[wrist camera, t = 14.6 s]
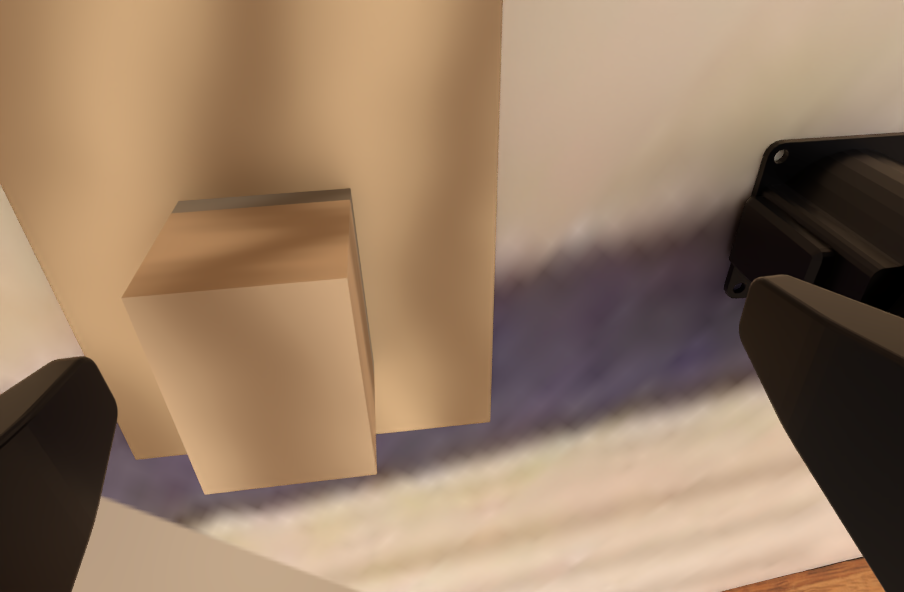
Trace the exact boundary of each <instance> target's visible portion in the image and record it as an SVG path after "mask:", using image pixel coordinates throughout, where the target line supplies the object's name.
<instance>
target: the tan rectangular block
mask: <svg viewBox="0 0 904 592" xmlns="http://www.w3.org/2000/svg"><path fill="white" fill-rule="evenodd" d="M121 299H122V301H123V303H124V306H125V308H126V311H127V313H128V315H129V318H130V320H131V322H132V325H133V327H134V329H135V332H136V334H137V336H138V339H139V341H140V343H141V346H142V348H143V351H144V353H145V355H146V358H147V360H148V362H149V365H150V367H151V369H152V372H153V374H154V376H155V379H156V381H157V383H158V386H159V388H160V391H161V393H162V395H163V398H164V400H165V402H166V405H167V407H168V409H169V412H170V414H171V416H172V419H173V421H174V423H175V426H176V428H177V431H178V433H179V435H180V438H181V440H182V442H183V445H184V447H185V449H186V452H187V454H188V456H189V459H190V461H191V463H192V466H193V468H194V471H195V473H196V475H197V478H198V480H199V482H200V485H201V487H202V489H203V492H204V494H214V493H222V492H230V491H239V490H247V489H256V488H264V487H273V486H281V485H290V484H298V483H306V482H315V481H323V480H332V479H340V478H349V477H357V476H366V475H374V474H377V462H376V422H375V383H374V360H373V352H372V345H371V338H370V330H369V323H368V315H367V308H366V300H365V293H364V285H363V278H362V270H361V263H360V255H359V248H358V240H357V233H356V225H355V218H354V210H353V203H352V195H351V188H347V189H333V190H320V191H307V192H293V193H280V194H266V195H253V196H240V197H226V198H213V199H200V200H186V201H178V203H177V204H176V206H175V208H174V210H173V211H172V213H171V215H170V216H169V218H168V220H167V221H166V223H165V225H164V226H163V228H162V230H161V232H160V233H159V235H158V237H157V238H156V240H155V242H154V243H153V245H152V247H151V248H150V250H149V252H148V254H147V255H146V257H145V259H144V260H143V262H142V264H141V265H140V267H139V269H138V270H137V272H136V274H135V276H134V277H133V279H132V281H131V282H130V284H129V286H128V287H127V289H126V291H125V292H124V294H123V296H122V298H121Z"/></svg>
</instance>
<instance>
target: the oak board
mask: <svg viewBox="0 0 904 592" xmlns="http://www.w3.org/2000/svg"><path fill="white" fill-rule="evenodd" d="M502 5H503V0H0V184H1V186H2V188H3V190H4V192H5V194H6V196H7V198H8V200H9V202H10V204H11V206H12V208H13V210H14V212H15V214H16V216H17V218H18V221H19V223H20V225H21V227H22V229H23V231H24V233H25V235H26V237H27V239H28V241H29V243H30V245H31V247H32V249H33V251H34V253H35V255H36V257H37V259H38V261H39V263H40V265H41V267H42V269H43V271H44V273H45V275H46V278H47V280H48V282H49V284H50V286H51V288H52V290H53V292H54V294H55V296H56V298H57V300H58V302H59V304H60V306H61V308H62V310H63V312H64V314H65V316H66V318H67V320H68V322H69V324H70V326H71V328H72V330H73V333H74V335H75V337H76V339H77V341H78V343H79V345H80V347H81V349H82V351H83V353H84V355H85V357H88V358H91V359H92V360H93V361H94V362H95V363H96V365H97V367H98V368H99V370H100V372H101V374H102V376H103V378H104V379H105V381H106V383H107V385H108V387H109V389H110V391H111V392H112V394H113V396H114V398H115V400H116V403H117V408H118V418H117V422H118V424H119V426H120V428H121V430H122V432H123V434H124V436H125V438H126V440H127V442H128V445H129V447H130V449H131V451H132V453H133V455H134V457H135V459H136V460H137V459H146V458H156V457H165V456H175V455H184V454H187V452H186V449H185V447H184V445H183V442H182V440H181V438H180V435H179V433H178V431H177V428H176V426H175V423H174V421H173V419H172V416H171V414H170V412H169V409H168V407H167V405H166V402H165V400H164V398H163V395H162V393H161V391H160V388H159V386H158V383H157V381H156V379H155V376H154V374H153V372H152V369H151V367H150V365H149V362H148V360H147V358H146V355H145V353H144V351H143V348H142V346H141V343H140V341H139V339H138V336H137V334H136V332H135V329H134V327H133V325H132V322H131V320H130V318H129V315H128V313H127V311H126V308H125V306H124V303H123V301H122V299H121V298H122V296H123V294H124V292H125V291H126V289H127V287H128V286H129V284H130V282H131V281H132V279H133V277H134V276H135V274H136V272H137V270H138V269H139V267H140V265H141V264H142V262H143V260H144V259H145V257H146V255H147V254H148V252H149V250H150V248H151V247H152V245H153V243H154V242H155V240H156V238H157V237H158V235H159V233H160V232H161V230H162V228H163V226H164V225H165V223H166V221H167V220H168V218H169V216H170V215H171V213H172V211H173V210H174V208H175V206H176V204H177V203H178V201H186V200H200V199H213V198H226V197H240V196H253V195H266V194H280V193H293V192H307V191H320V190H333V189H347V188H351V195H352V203H353V210H354V218H355V225H356V233H357V240H358V248H359V255H360V263H361V270H362V278H363V285H364V293H365V300H366V308H367V315H368V323H369V330H370V338H371V345H372V352H373V360H374V383H375V422H376V434H381V433H390V432H400V431H409V430H419V429H428V428H437V427H447V426H456V425H466V424H475V423H484V422H490V408H491V374H492V341H493V307H494V274H495V240H496V206H497V173H498V139H499V106H500V72H501V38H502Z"/></svg>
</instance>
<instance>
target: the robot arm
mask: <svg viewBox="0 0 904 592" xmlns="http://www.w3.org/2000/svg"><path fill="white" fill-rule="evenodd" d="M783 149H784V154H783V156H782V157H781V158H780V159H779V160H777V161H774V157H775V155H776V153H777V152H779V151H780V150H783ZM729 260H730V261H731V265H730V268H729V271H728V275H727V278H726V281H725V285H724V291H725V293H726V294H727V295H728V296H729V297H731V298H746V297H747V298H746V301H745V305H744V309H743V312H742V316H741V319H740V323H739V335H740V339H741V341H742V344H743V346H744V348H745V350H746V352H747V354H748V356H749V358H750V360H751V362H752V364H753V367H754V369H755V371H756V373H757V375H758V377H759V379H760V381H761V383H762V385H763V387H764V389H765V391H766V393H767V396H768V398H769V400H770V402H771V404H772V406H773V408H774V410H775V412H776V414H777V416H778V418H779V420H780V422H781V424H782V426H783V428H784V429H785V431H786V433H787V435H788V436H789V438H790V440H791V441H792V443H793V445H794V447H795V448H796V450H797V451H798V453H799V455H800V456H801V458H802V459H803V461H804V463H805V464H806V466H807V467H808V469H809V471H810V472H811V474H812V475H813V477H814V479H815V480H816V482H817V483H818V485H819V487H820V488H821V490H822V491H823V493H824V495H825V496H826V498H827V499H828V501H829V503H830V504H831V506H832V507H833V509H834V511H835V512H836V514H837V515H838V517H839V519H840V520H841V522H842V523H843V525H844V527H845V528H846V530H847V531H848V533H849V535H850V536H851V538H852V539H853V541H854V543H855V544H856V546H857V547H858V549H859V551H860V552H861V554H862V555H863V557H864V559H865V560H866V562H867V563H868V565H869V567H870V568H871V570H872V571H873V573H874V575H875V576H876V578H877V579H878V581H879V583H880V584H881V586H882V587H883V589H884V590H885V592H904V132H900V133H885V134H869V135H853V136H838V137H822V138H806V139H791V140H780V141H776V142H774V143H773V144H771V145H770V146H769V147H768V148H767V149H766V151H765V153H764V155H763V158H762V161H761V165H760V168H759V171H758V175H757V178H756V181H755V185H754V188H753V191H752V195H751V197H750V198H749V199H748V201H747V202H746V203H745V206H744V209H743V213H742V216H741V220H740V223H739V226H738V230H737V233H736V236H735V240H734V243H733V247H732V250H731V253H730V257H729ZM739 283H742V285H741V287H740V288H738V289H736V290H733V288H734V287H735V285H737V284H739ZM117 418H118V408H117V403H116V400H115V398H114V396H113V394H112V392H111V391H110V389H109V387H108V385H107V383H106V381H105V379H104V378H103V376H102V374H101V372H100V370H99V368H98V367H97V365H96V363H95V362H94V361H93V360H92V359H91V358H88V357H85V356H81V357H73V358H64V359H57V360H54V361H51V362H50V363H48V364H47V365H45V366H43V367H42V368H40V369H39V370H37V371H36V372H34V373H33V374H31V375H30V376H28V377H27V378H25V379H24V380H22V381H21V382H19V383H18V384H16V385H15V386H13V387H11V388H10V389H8V390H7V391H5V392H4V393H2V394H1V395H0V592H72V589H73V586H74V583H75V580H76V577H77V574H78V571H79V568H80V565H81V562H82V559H83V556H84V553H85V550H86V548H87V545H88V541H89V538H90V535H91V532H92V529H93V525H94V522H95V518H96V514H97V510H98V506H99V502H100V497H101V493H102V488H103V484H104V479H105V474H106V470H107V465H108V460H109V456H110V451H111V447H112V442H113V437H114V433H115V428H116V424H117Z"/></svg>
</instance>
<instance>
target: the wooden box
mask: <svg viewBox="0 0 904 592" xmlns="http://www.w3.org/2000/svg"><path fill="white" fill-rule="evenodd" d="M722 592H885V590H884V589H883V587H882V586H881V584H880V583H879V581H878V579H877V578H876V576H875V575H874V573H873V571H872V570H871V568H870V567H869V565H868V563H867V562H866V560H865V559H864V557H862V558H858V559H854V560H849V561H845V562H840V563H837V564H833V565H829V566H825V567H821V568H817V569H812V570H807V571H803V572H799V573H795V574H791V575H786V576H782V577H778V578H774V579H770V580H766V581H762V582H758V583H754V584H750V585H746V586H742V587H738V588H734V589H730V590H726V591H722Z"/></svg>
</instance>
